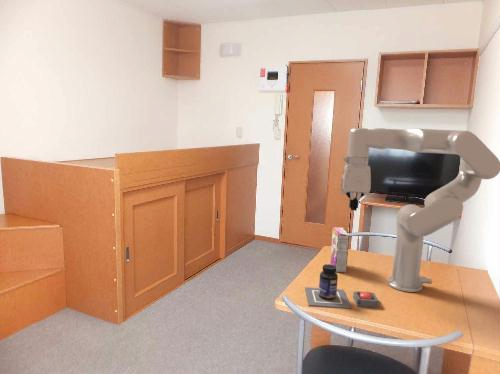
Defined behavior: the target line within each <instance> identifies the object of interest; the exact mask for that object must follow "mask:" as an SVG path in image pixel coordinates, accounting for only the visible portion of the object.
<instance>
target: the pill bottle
mask: <svg viewBox="0 0 500 374" xmlns="http://www.w3.org/2000/svg"><path fill="white" fill-rule="evenodd" d="M338 277H339V276H338V274H337V272H336V266H334V265H331V264H329V263H328V264H323V265H322V271H321V272H320V273H319V281H318V282H319V283H318V288H319V296H320V297H321V298H322V299H326V300H333V299H335V298H336V292H337V289H338Z"/></svg>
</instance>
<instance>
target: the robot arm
mask: <svg viewBox="0 0 500 374" xmlns="http://www.w3.org/2000/svg"><path fill="white" fill-rule="evenodd" d="M347 145H348V146H347V156H346V157H343V158H342V159H343V160H342V162H345V163H346V164H345V165H344V167H343V171H342V176H341V183H340V186H341V187H340V190H339V191H340V194H342V195H345V196H347V198H348V199H349V203H348V204H349V205H348V207H349V208H350V209H349V210H351V211H355V212H356V211H358V210H357V209H359V201H361V199H362V198H363V197H366V196H369V195H370V192H371V186H372V185H371V184H372V181H371V180H372V175H371V172H372V171H371V166H370V165H369V155H370V148H372V149H377V150H386V149H391V150H392V149H393V150H402V151H408V152H415V153H424V154H429V153H430V154H444V155H445V154H447V155H457V156H459V157H460V159H461V162H460V165H459V172H458V174H457V176H456V177H455V178H454V179H453V180H452V181H449V182H448V183H447V184H445V185H443V186H441V187H440V188H437V189H436V190H434V191H432V192H431V193H429V194H428V195H426V197H425V199H424V202H423V203H424V207H420V206H418V205H416V204H413V203H412V204H410V203H409V204H406V205H404V206H401V208H400V209H399V210H398V212H397V215H396V239H395V246H394V247H395V248H394V256H393V257H394V259H393V266H392V267H393V268H392V276H389V277H388V278H387V284H388V285H389V286H390V287H391V288H394V289H395V290H398V291H402V292H408V293H415V292H420V291H422V290H423V285H424V284H428V285H429V284H430V285H431V284H433V279H432V278H427V277H426V276H424V275H423V276H421V275H420V274H421V266H422V265H421V263H422V256H423V249H424V237H427V236H429V235H432V234H434V233H435V232H437V231H439V230H440V229H443V228H445V227H446V226H448V225H450V224H452V223H453V222H454V221H456V220H458V219H459V217H461V215H462V214H463V211H464V203H465V202H467V201H468V200H470V199H471V198H472V197H473V196H475V195H476V193H477V192H478V190H479V189H480V186H481V184H482V180H491V179H493V178H495V177H497V176H498V175H499V174H500V159H499V158H498V157H497V155H496V154H495V153H494V152H493V151H491V149H490V148H489V147H487V145H486V144H485V143H484V142H483V141H482V140H481V139H480V138H479V137H478V136H477V135H476V134H474V133H473V132H472V131H469V130H456V129H455V130H453V129H452V130H451V129H432V128H412V129H411V128H410V129H398V128H397V129H395V128H394V129H393V128H380V127H379V128H378V127H377V128H371V129H369V128H365V127H362V128H361V127H353V128H351V129H350V130H349V134H348V144H347ZM354 193H355V197H354Z"/></svg>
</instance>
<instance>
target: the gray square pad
mask: <svg viewBox="0 0 500 374" xmlns="http://www.w3.org/2000/svg"><path fill="white" fill-rule="evenodd" d="M304 290H305V295H306V300H307V305H308V307H317V308H321V307H322V308H336V309H348V310H349V309H352V307H351V304H350V302H349V300H348V297H347V294H346V293H345V290H344V289H341V288H340V289H338V288H337V292H336V298H335V299H333V300H326V299H322V298H321V297H320V296H319V287H307V286H305V287H304Z"/></svg>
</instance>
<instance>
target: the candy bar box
mask: <svg viewBox="0 0 500 374" xmlns="http://www.w3.org/2000/svg"><path fill="white" fill-rule="evenodd" d="M349 240H350V234H349V232H347V231H346V229H345V227H337V226H336V227H335V226H334V227H332V235H331V249H330V265H334V266H336V272H335V273H347V270H348V269H347V267H348V255H349V246H350V245H349V243H350V241H349Z"/></svg>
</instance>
